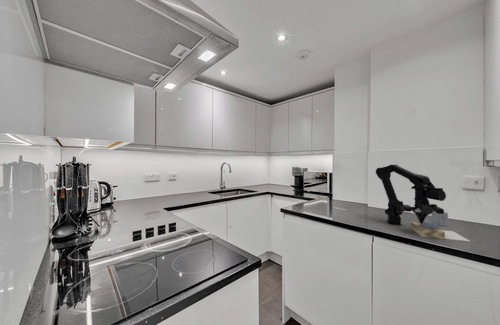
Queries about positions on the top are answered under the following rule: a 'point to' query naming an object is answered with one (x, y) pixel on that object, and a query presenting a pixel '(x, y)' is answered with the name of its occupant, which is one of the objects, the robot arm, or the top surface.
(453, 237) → the mat
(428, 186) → the robot arm
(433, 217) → the medicine box
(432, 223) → the tile
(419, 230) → the deck
